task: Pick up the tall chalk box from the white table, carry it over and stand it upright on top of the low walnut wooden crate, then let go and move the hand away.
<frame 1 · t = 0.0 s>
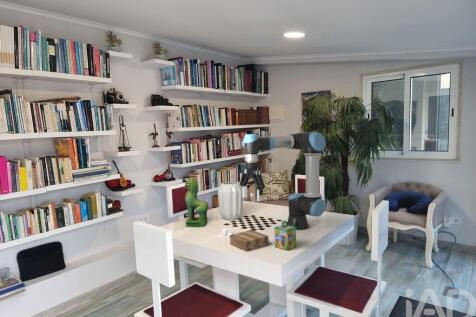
hand: (252, 199, 189), 28 cm above the table, tool pointing down, fingers open, 13 cm apart
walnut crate: (249, 245, 196), on the table
chalk box: (285, 247, 191), on the table
lion statue: (197, 225, 241), on the table
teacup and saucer: (225, 237, 212), on the table
vase: (231, 218, 257), on the table
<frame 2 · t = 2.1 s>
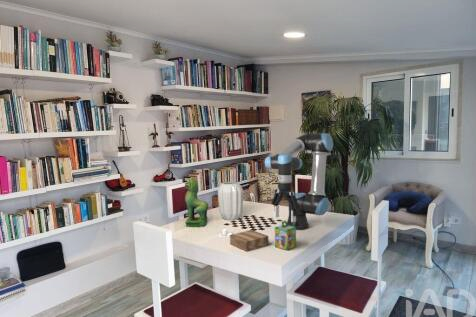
hand: (285, 219, 189), 16 cm above the table, tool pointing down, fingers open, 13 cm apart
nothing on the table moved.
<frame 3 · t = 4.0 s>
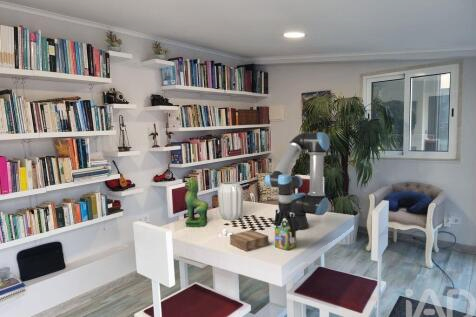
hand: (285, 240, 191), 4 cm above the table, tool pointing down, fingers closed on chalk box, 10 cm apart
chalk box: (285, 247, 191), on the table, touching gripper
everything else where it was.
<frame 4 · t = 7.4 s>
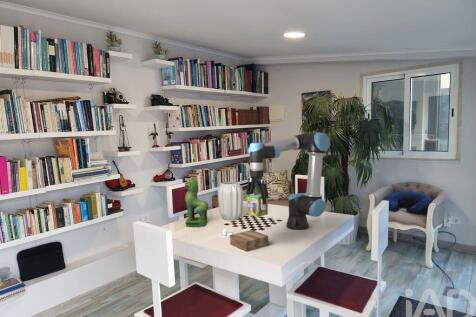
hand: (257, 208, 193), 22 cm above the table, tool pointing down, fingers closed on chalk box, 10 cm apart
chalk box: (257, 215, 193), point 18 cm above the table, touching gripper
everything else where it was.
when the fingers open (11 cm above the table, at t = 10.7 s): chalk box drops 2 cm, resting on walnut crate.
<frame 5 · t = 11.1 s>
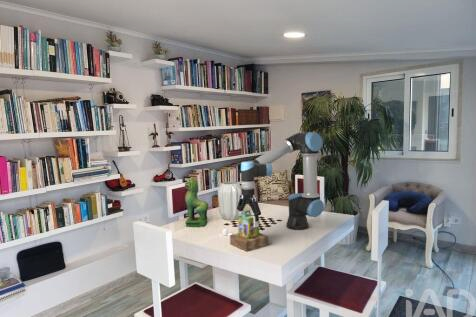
hand: (248, 224, 195), 12 cm above the table, tool pointing down, fingers open, 13 cm apart
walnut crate: (249, 245, 196), on the table, touching chalk box
chalk box: (249, 236, 195), point 5 cm above the table, touching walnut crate
everything else where it was.
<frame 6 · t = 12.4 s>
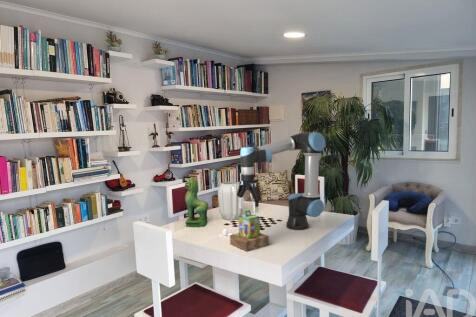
hand: (248, 210, 194), 21 cm above the table, tool pointing down, fingers open, 13 cm apart
nothing on the table moved.
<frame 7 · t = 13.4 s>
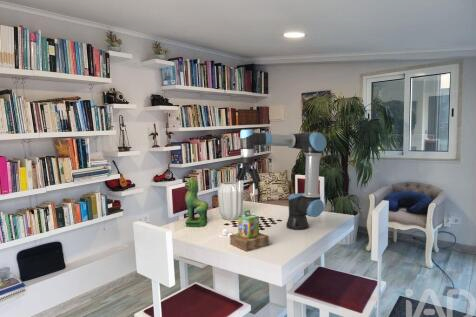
hand: (248, 192, 193), 31 cm above the table, tool pointing down, fingers open, 13 cm apart
nothing on the table moved.
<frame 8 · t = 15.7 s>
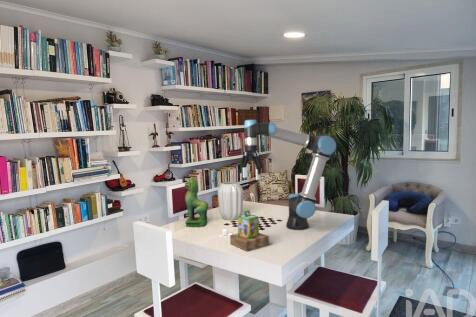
hand: (251, 178, 210), 37 cm above the table, tool pointing down, fingers open, 13 cm apart
nothing on the table moved.
at the end: chalk box inside the target area on the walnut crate (0.4 cm from its centre), point 5.8 cm above the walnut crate's base; chalk box tilted 0°; chalk box touching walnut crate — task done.
